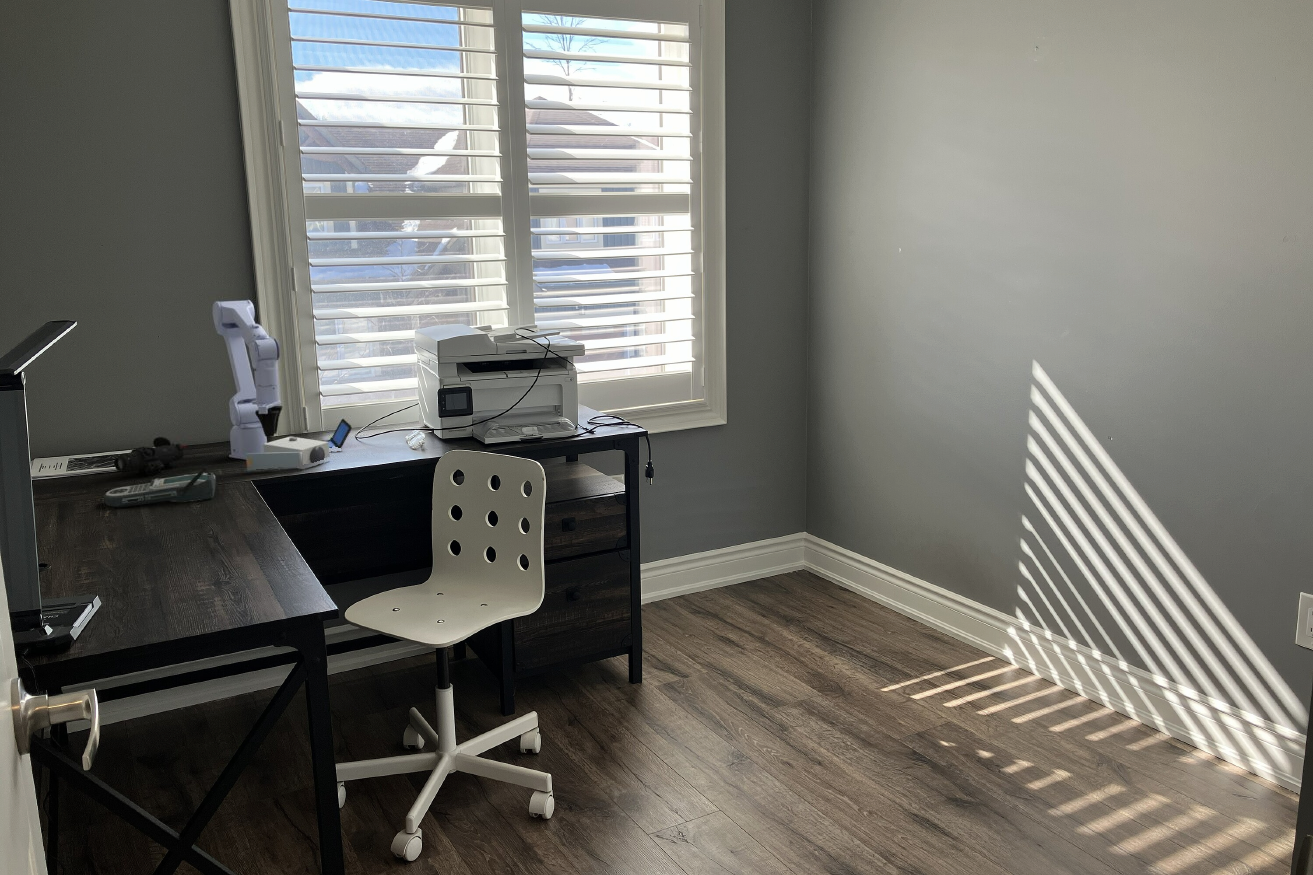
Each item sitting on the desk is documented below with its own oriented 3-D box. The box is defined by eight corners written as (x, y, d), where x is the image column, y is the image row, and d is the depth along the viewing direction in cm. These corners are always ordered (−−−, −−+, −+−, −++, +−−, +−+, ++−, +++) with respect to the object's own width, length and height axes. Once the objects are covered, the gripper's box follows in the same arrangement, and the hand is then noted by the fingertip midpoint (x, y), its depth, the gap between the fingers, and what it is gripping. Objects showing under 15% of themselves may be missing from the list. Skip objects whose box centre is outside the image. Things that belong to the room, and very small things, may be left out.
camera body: (264, 463, 269) (262, 441, 268) (291, 455, 278) (290, 434, 277) (305, 470, 263) (304, 448, 262) (332, 461, 272) (330, 440, 271)
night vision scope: (121, 489, 252) (101, 460, 254) (184, 474, 267) (164, 448, 269) (131, 469, 248) (111, 440, 251) (194, 455, 264) (174, 428, 266)
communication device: (109, 498, 238) (105, 463, 236) (217, 488, 246) (213, 454, 244) (102, 513, 227) (97, 476, 225) (214, 502, 235) (210, 466, 233)
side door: (303, 467, 263) (302, 451, 262) (302, 469, 262) (301, 453, 261) (248, 469, 261) (246, 453, 260) (246, 471, 259) (245, 454, 258)
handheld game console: (307, 445, 291) (305, 421, 289) (344, 442, 296) (343, 417, 294) (315, 455, 280) (313, 429, 278) (353, 451, 285) (352, 426, 283)
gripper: (257, 380, 265) (261, 429, 268) (244, 390, 251) (248, 441, 254) (284, 379, 266) (288, 428, 269) (273, 389, 252) (277, 440, 255)
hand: (270, 434), depth 262 cm, fingers open, 3 cm apart
